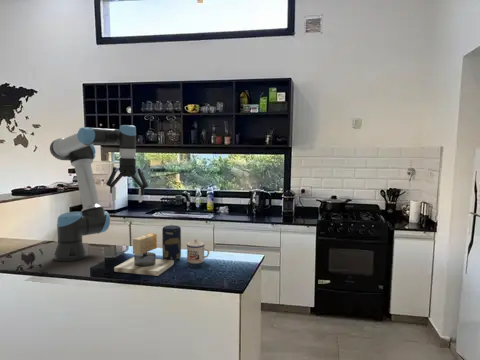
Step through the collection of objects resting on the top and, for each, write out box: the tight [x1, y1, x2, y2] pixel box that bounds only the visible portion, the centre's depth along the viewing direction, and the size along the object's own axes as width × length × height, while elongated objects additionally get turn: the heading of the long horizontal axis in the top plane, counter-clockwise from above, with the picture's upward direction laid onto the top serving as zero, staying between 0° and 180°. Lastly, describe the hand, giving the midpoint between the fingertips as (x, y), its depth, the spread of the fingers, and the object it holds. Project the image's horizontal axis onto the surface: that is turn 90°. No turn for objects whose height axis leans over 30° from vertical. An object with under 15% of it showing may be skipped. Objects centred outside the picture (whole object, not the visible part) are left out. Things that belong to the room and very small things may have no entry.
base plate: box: [113, 256, 175, 277], centre depth 182 cm, size 22×18×2 cm
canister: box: [161, 224, 182, 261], centre depth 198 cm, size 10×10×18 cm
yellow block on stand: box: [132, 233, 158, 266], centre depth 182 cm, size 13×10×13 cm
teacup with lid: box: [186, 238, 210, 264], centre depth 194 cm, size 12×9×12 cm
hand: (127, 201), depth 185 cm, fingers open, 13 cm apart
